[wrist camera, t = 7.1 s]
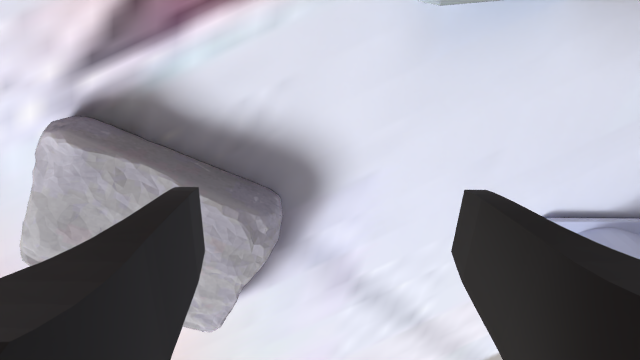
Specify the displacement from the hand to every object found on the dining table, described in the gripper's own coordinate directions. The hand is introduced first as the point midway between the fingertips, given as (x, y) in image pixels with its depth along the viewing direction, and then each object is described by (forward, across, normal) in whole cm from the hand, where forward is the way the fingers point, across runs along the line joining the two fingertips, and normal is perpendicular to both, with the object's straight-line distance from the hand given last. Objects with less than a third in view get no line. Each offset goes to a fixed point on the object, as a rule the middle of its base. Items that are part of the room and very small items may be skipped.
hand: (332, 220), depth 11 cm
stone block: (+11, +8, +7) cm, 15 cm away
